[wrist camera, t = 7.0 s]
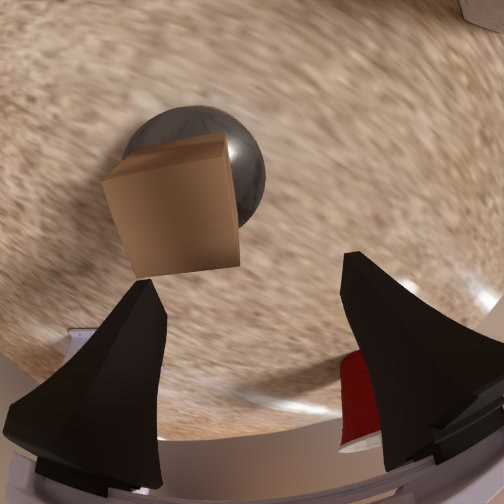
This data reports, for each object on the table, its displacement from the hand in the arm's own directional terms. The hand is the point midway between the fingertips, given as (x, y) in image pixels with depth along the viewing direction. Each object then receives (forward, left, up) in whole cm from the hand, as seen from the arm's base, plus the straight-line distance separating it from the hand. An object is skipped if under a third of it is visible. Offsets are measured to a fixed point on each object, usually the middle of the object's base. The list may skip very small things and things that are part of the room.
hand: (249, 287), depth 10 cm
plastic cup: (+12, -25, -10) cm, 29 cm away
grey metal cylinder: (-3, +2, -10) cm, 11 cm away
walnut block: (-3, +2, -7) cm, 8 cm away
